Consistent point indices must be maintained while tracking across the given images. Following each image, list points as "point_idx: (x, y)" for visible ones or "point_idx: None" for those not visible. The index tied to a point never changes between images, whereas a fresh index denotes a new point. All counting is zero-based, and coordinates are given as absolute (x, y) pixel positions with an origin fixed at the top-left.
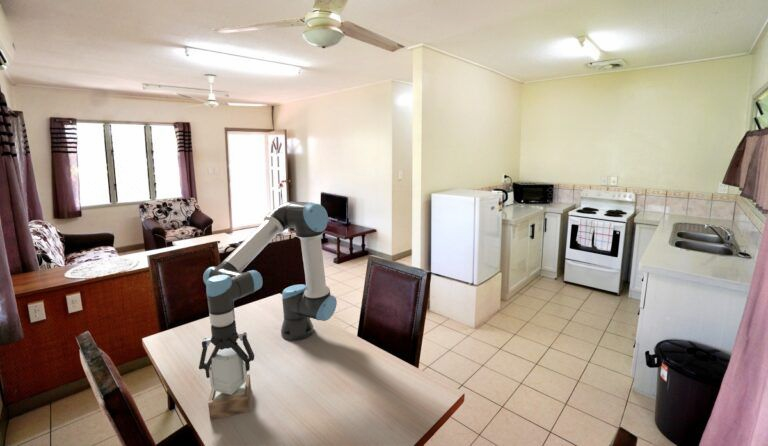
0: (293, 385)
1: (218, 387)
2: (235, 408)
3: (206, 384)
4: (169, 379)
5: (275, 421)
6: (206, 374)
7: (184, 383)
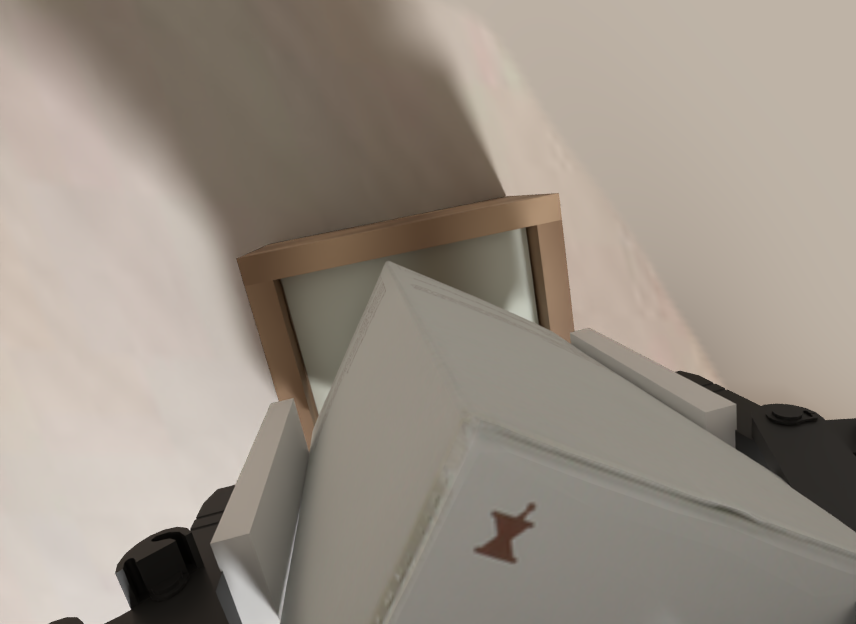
0: (20, 495)
1: (522, 320)
2: (351, 229)
3: None
4: None
5: (20, 116)
6: (717, 388)
7: None
